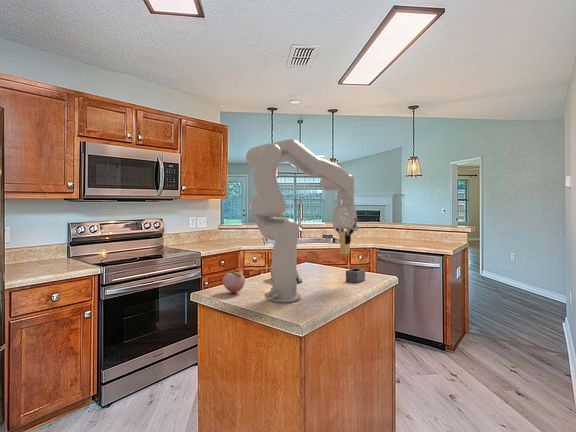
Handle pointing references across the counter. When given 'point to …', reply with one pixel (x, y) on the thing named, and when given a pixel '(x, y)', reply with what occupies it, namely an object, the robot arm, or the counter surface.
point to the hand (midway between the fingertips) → (345, 243)
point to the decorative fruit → (233, 281)
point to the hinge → (297, 275)
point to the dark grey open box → (355, 275)
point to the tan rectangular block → (344, 243)
